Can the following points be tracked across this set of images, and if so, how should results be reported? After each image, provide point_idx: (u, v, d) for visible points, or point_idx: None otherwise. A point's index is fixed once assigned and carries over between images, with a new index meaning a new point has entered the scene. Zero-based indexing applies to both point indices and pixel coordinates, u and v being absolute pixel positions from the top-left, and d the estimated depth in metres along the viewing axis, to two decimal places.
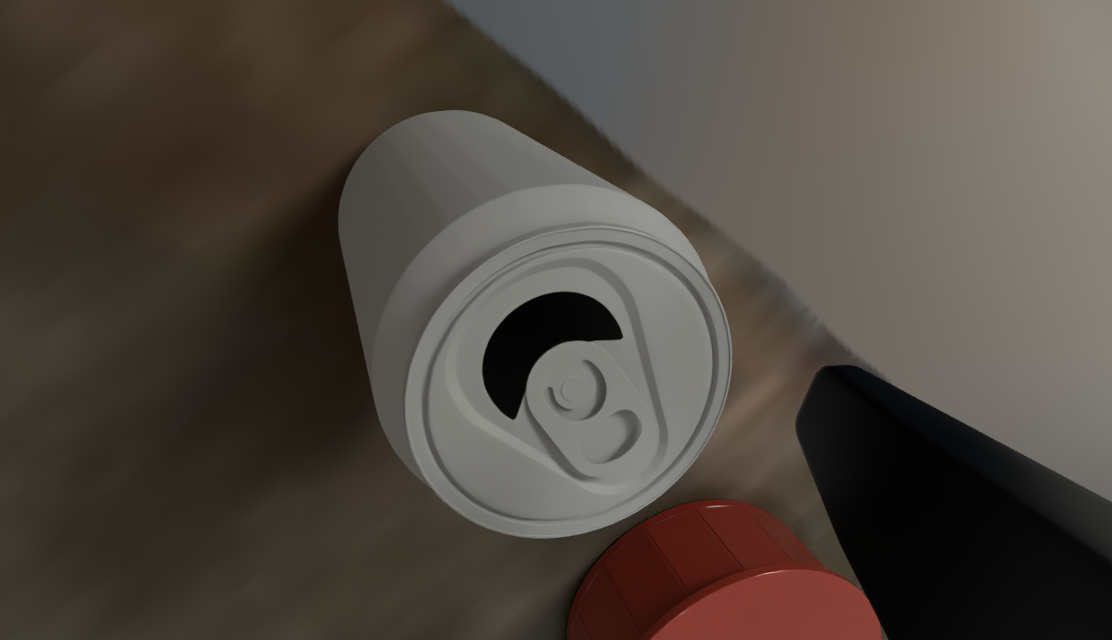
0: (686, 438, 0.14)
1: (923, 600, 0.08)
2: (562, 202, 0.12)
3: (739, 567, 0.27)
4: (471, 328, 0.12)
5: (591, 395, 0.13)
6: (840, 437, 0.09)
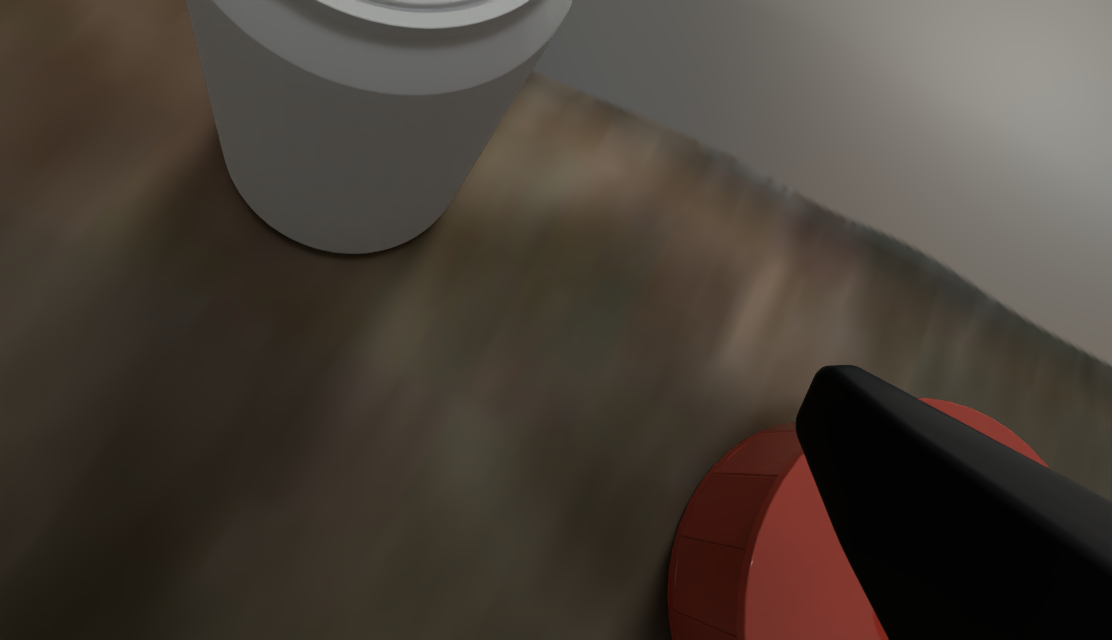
0: None
1: (923, 600, 0.08)
2: None
3: None
4: None
5: None
6: (840, 437, 0.09)
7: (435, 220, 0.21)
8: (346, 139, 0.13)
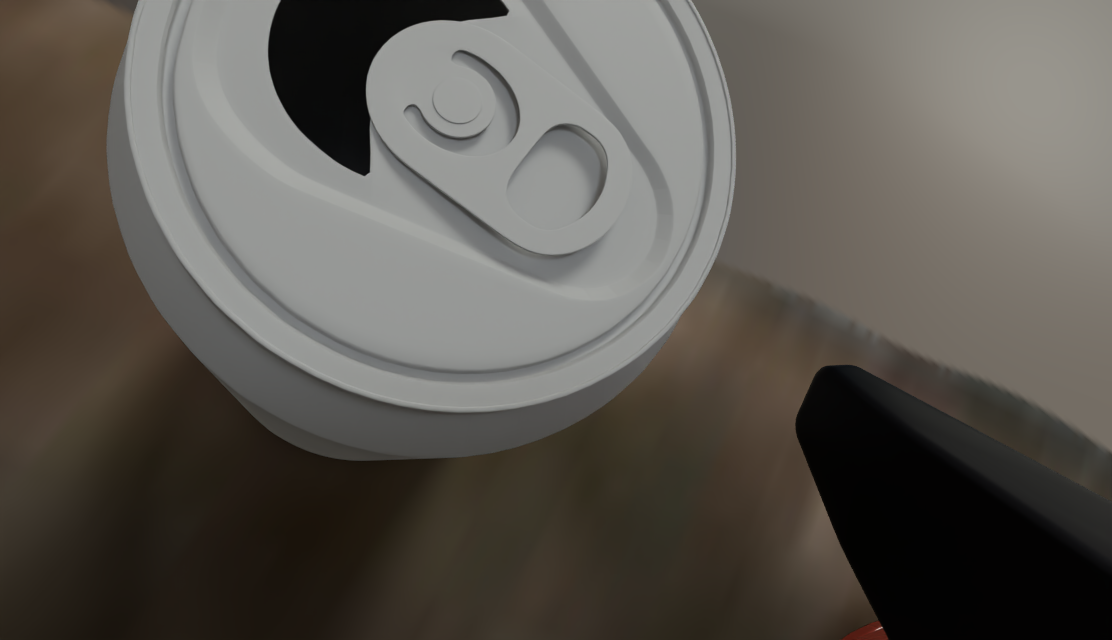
0: (698, 181, 0.08)
1: (923, 600, 0.08)
2: None
3: None
4: (230, 15, 0.07)
5: (491, 111, 0.07)
6: (840, 437, 0.09)
7: None
8: (377, 457, 0.10)
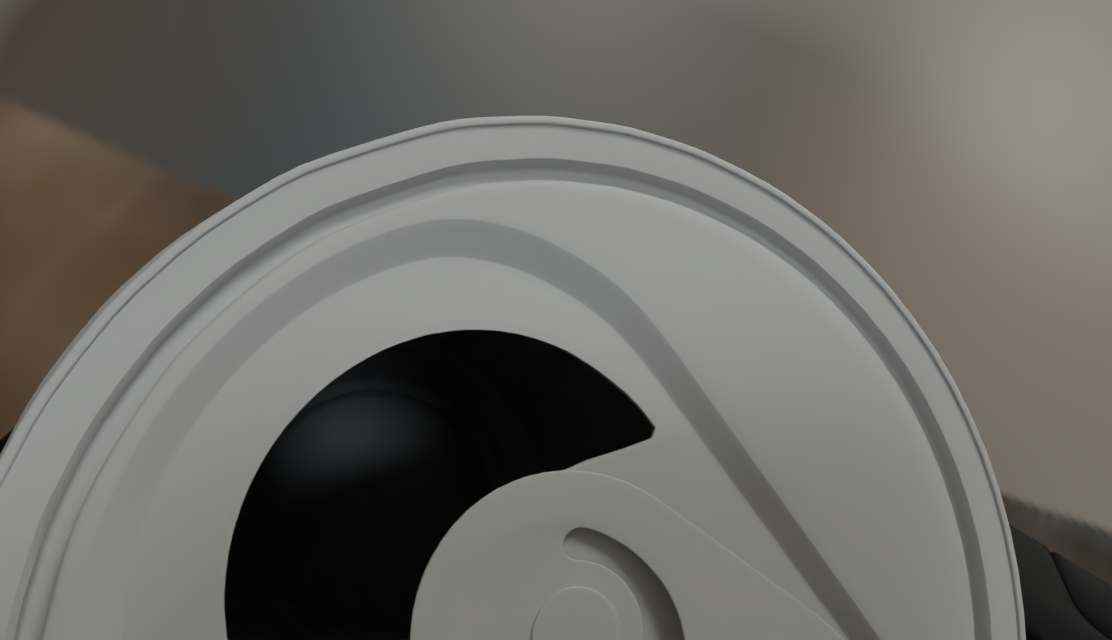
0: None
1: None
2: None
3: None
4: (149, 536, 0.04)
5: None
6: None
7: None
8: None
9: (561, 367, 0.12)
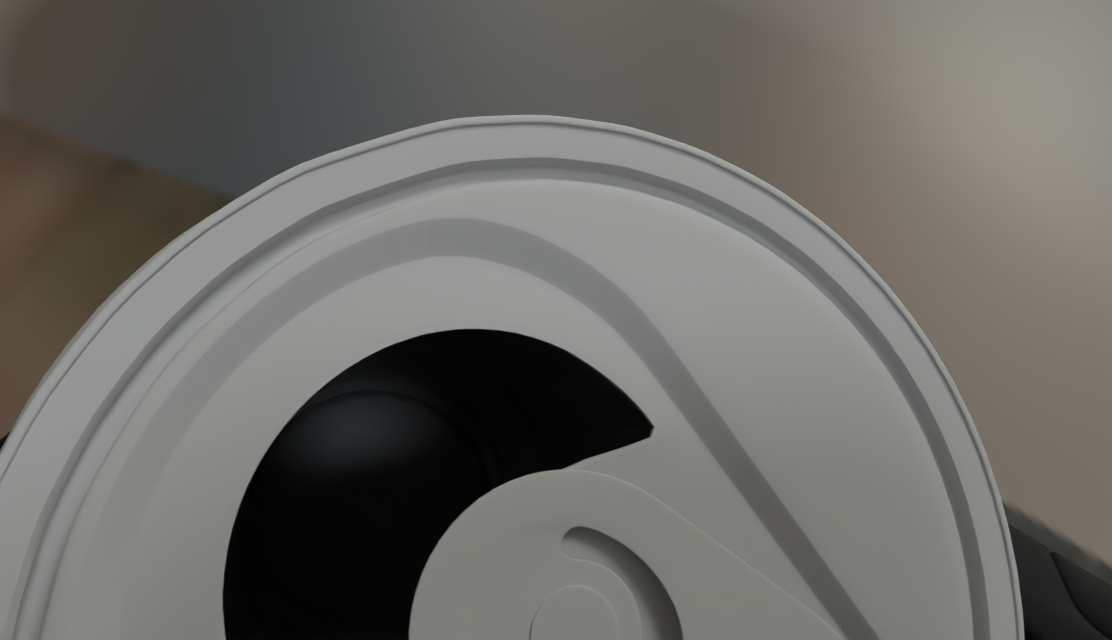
0: None
1: None
2: None
3: None
4: (149, 536, 0.04)
5: (633, 639, 0.04)
6: None
7: None
8: None
9: (561, 367, 0.12)
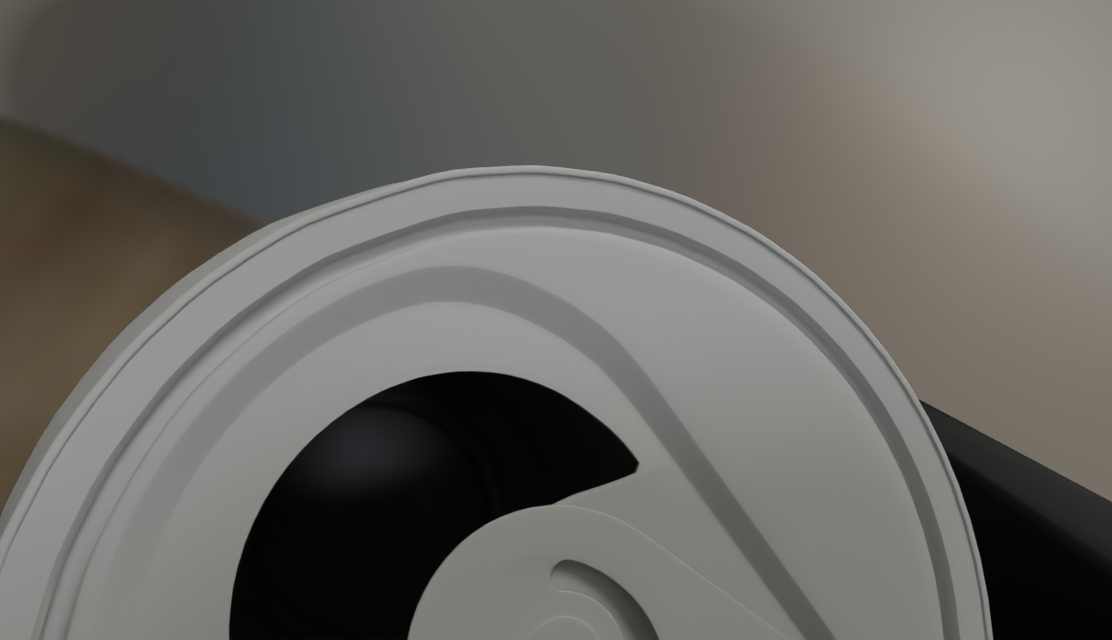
0: None
1: None
2: None
3: None
4: (157, 572, 0.04)
5: None
6: None
7: None
8: None
9: None
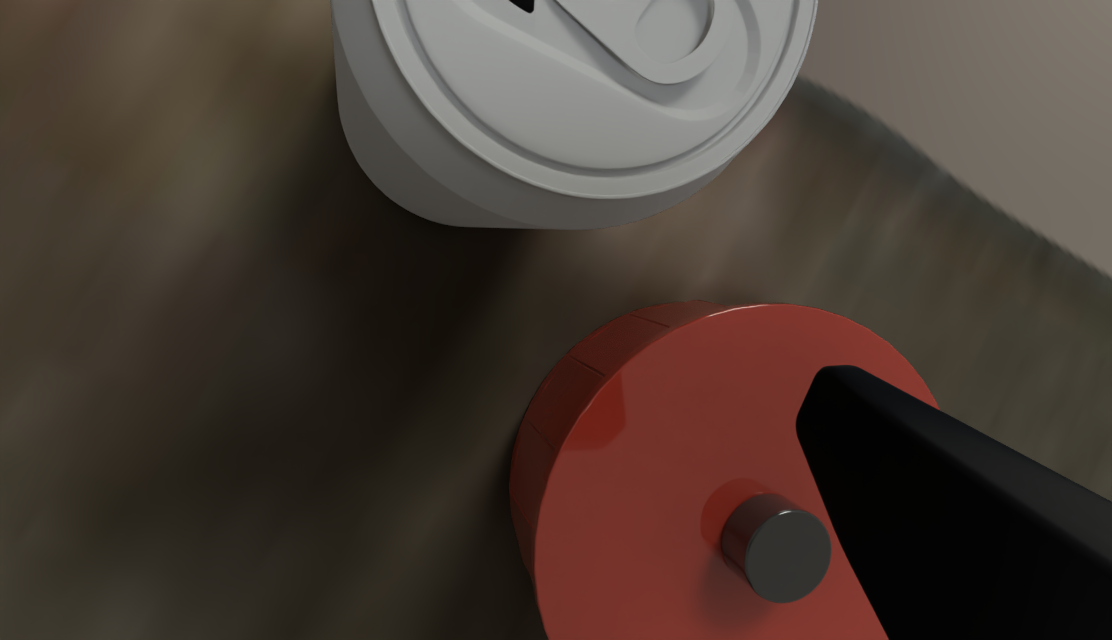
0: (784, 25, 0.10)
1: (923, 600, 0.08)
2: None
3: None
4: None
5: None
6: (840, 437, 0.09)
7: None
8: (505, 225, 0.12)
9: None
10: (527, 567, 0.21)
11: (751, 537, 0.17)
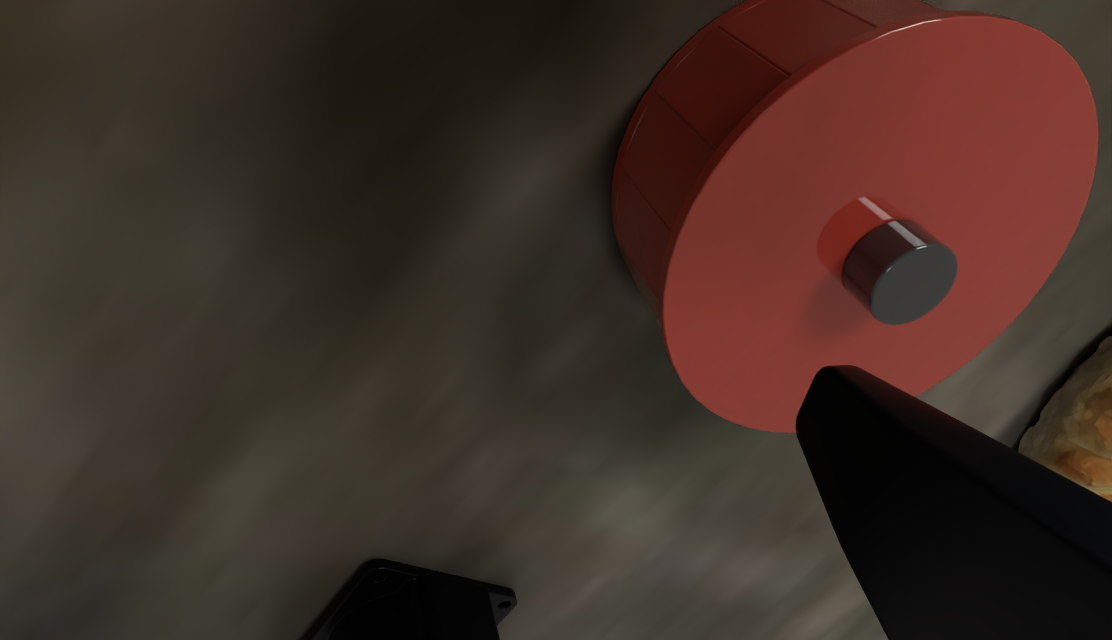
0: None
1: (923, 600, 0.08)
2: None
3: None
4: None
5: None
6: (840, 437, 0.09)
7: None
8: None
9: None
10: (626, 246, 0.21)
11: (888, 264, 0.17)
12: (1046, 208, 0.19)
